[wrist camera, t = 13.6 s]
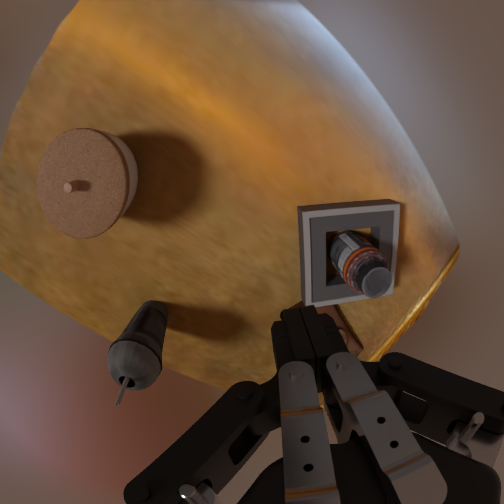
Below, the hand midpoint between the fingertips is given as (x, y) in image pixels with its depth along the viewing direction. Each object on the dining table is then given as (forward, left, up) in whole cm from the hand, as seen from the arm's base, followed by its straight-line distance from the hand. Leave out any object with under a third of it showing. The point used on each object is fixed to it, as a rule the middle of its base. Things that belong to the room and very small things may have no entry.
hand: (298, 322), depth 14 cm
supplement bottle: (+8, +12, -27) cm, 30 cm away
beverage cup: (+15, -18, -27) cm, 35 cm away
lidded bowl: (-7, -20, -27) cm, 34 cm away
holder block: (+8, +12, -26) cm, 30 cm away
